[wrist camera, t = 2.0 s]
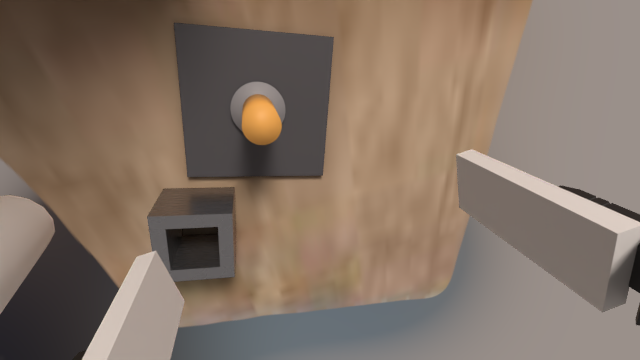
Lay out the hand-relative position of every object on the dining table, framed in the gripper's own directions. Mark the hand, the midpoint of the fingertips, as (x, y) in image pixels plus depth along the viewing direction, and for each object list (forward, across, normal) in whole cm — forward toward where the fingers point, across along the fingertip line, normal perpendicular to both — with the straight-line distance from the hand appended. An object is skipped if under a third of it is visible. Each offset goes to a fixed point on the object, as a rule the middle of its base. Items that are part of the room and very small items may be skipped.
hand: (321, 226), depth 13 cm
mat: (+21, -1, +2) cm, 21 cm away
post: (+21, -1, +2) cm, 21 cm away
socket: (+21, -11, -8) cm, 25 cm away
